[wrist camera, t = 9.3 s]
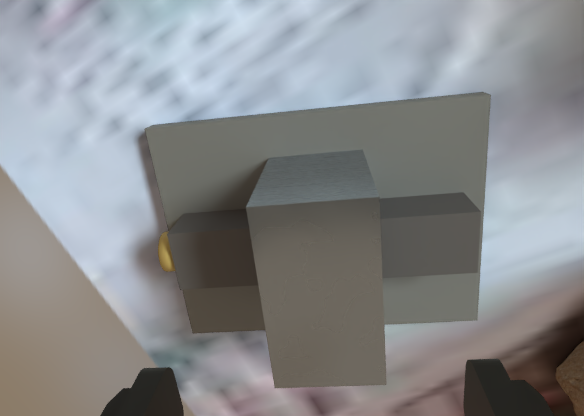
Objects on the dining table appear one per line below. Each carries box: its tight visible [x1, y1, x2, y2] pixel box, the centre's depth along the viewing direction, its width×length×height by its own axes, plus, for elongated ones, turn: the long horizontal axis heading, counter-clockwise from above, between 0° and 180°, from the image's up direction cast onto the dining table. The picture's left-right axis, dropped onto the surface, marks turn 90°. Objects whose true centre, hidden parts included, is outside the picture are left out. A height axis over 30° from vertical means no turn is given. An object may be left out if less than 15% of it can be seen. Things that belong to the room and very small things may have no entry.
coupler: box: [145, 92, 491, 333], centre depth 21 cm, size 12×16×4 cm
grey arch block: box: [246, 149, 386, 388], centre depth 19 cm, size 8×4×6 cm, turn 6°
